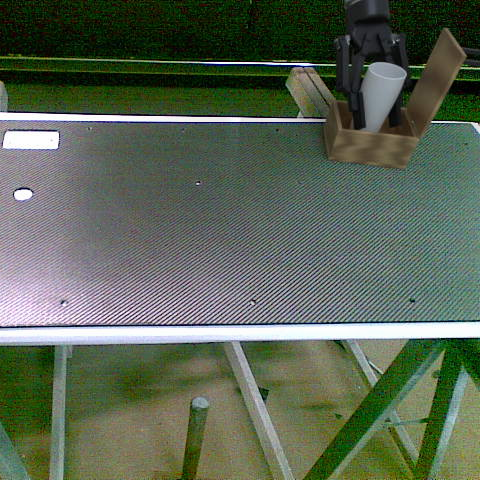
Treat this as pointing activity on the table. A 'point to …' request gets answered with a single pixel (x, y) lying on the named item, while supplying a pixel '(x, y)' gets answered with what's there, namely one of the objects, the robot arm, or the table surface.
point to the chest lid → (437, 79)
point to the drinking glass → (380, 93)
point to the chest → (368, 140)
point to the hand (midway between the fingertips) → (378, 127)
